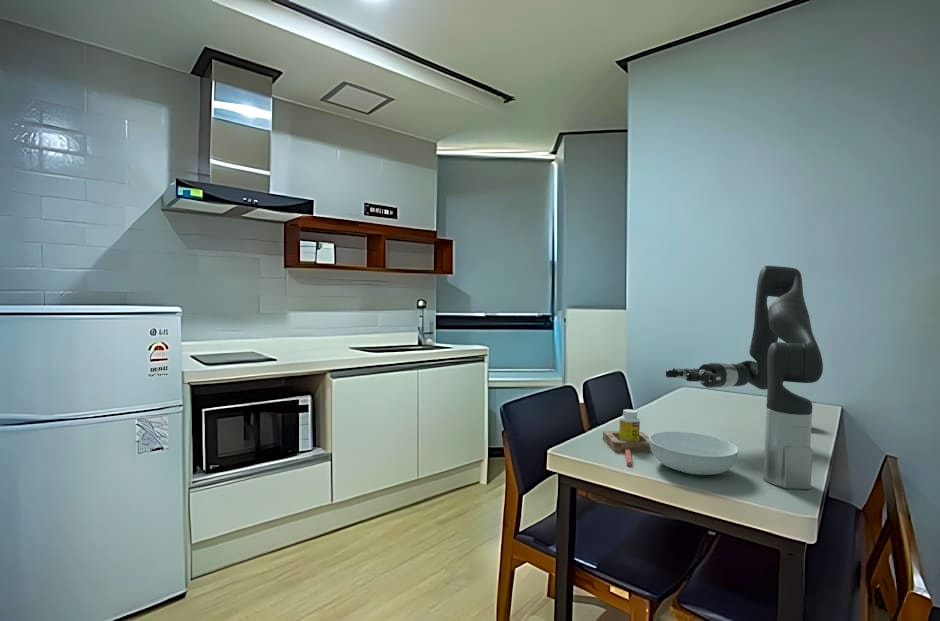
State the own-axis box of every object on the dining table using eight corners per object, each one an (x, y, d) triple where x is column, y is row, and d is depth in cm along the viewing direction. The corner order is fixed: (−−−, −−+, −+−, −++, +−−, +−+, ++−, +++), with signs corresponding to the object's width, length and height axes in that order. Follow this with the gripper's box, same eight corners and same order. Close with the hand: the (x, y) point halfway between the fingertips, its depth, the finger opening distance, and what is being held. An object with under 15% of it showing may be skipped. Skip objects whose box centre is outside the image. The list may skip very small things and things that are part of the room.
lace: (631, 466, 130) (631, 462, 130) (626, 465, 130) (626, 461, 130) (629, 452, 142) (629, 449, 142) (625, 452, 142) (625, 448, 142)
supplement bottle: (632, 449, 145) (634, 413, 144) (615, 445, 149) (616, 410, 148) (642, 446, 149) (643, 411, 148) (625, 441, 153) (626, 407, 152)
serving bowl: (646, 475, 124) (647, 447, 124) (649, 452, 143) (650, 427, 143) (742, 490, 116) (744, 460, 116) (732, 463, 136) (733, 437, 135)
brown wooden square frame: (656, 452, 143) (657, 443, 143) (613, 451, 143) (614, 442, 142) (642, 440, 155) (642, 432, 155) (602, 439, 155) (603, 431, 154)
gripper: (700, 360, 165) (660, 360, 160) (737, 365, 152) (695, 365, 146) (699, 383, 165) (659, 384, 160) (736, 391, 152) (694, 392, 146)
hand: (676, 375), depth 153 cm, fingers open, 8 cm apart
